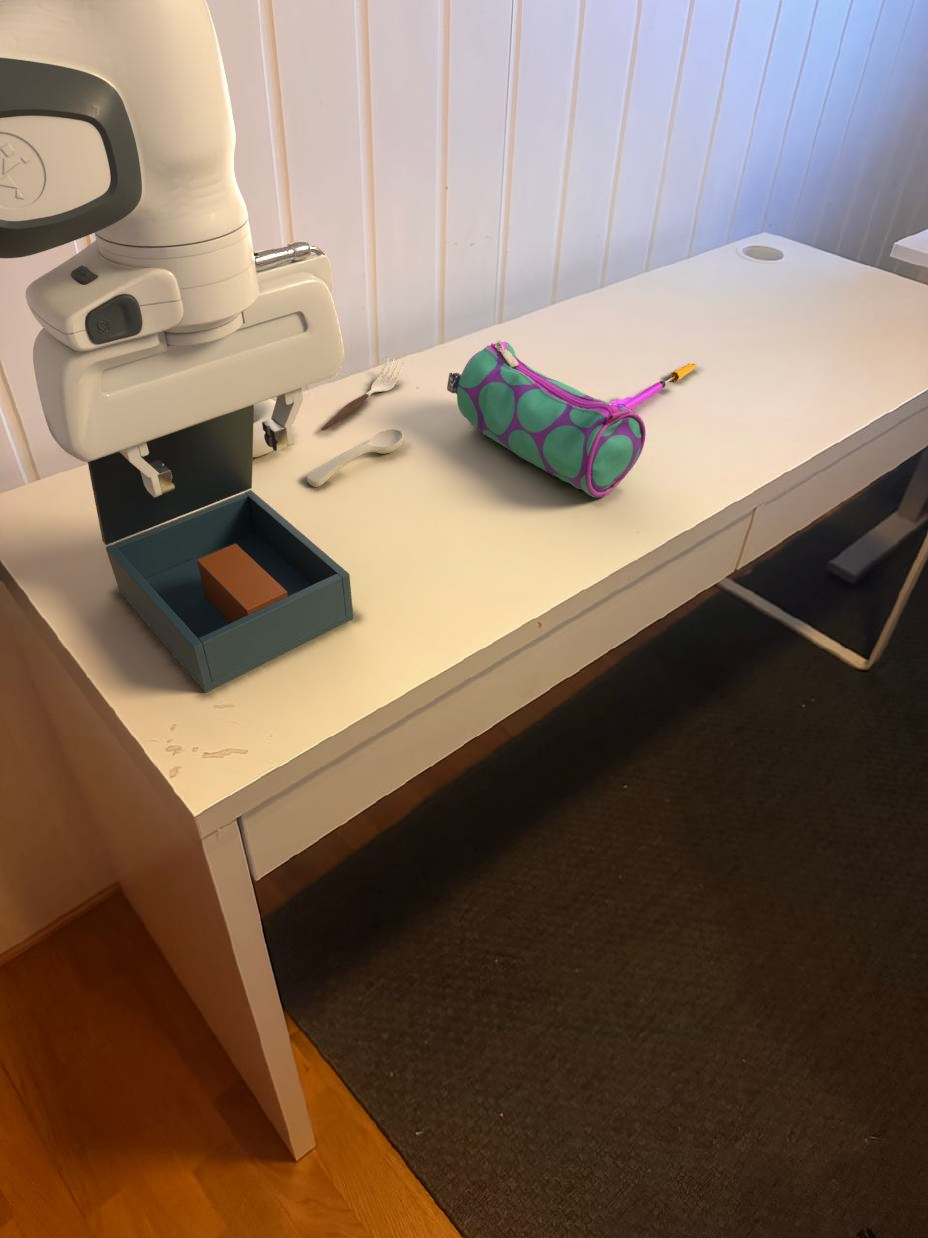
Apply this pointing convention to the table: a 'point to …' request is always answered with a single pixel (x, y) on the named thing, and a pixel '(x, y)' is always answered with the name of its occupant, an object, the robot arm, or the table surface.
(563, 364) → the table surface
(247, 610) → the brown rectangular block
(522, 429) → the pencil case
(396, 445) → the spoon
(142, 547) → the teal shallow open box
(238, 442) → the lid
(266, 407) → the donut
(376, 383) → the fork
